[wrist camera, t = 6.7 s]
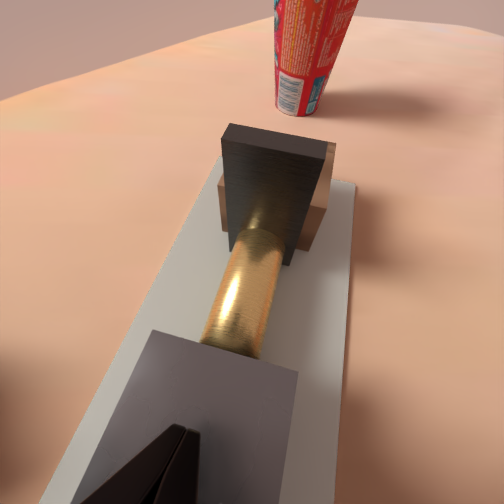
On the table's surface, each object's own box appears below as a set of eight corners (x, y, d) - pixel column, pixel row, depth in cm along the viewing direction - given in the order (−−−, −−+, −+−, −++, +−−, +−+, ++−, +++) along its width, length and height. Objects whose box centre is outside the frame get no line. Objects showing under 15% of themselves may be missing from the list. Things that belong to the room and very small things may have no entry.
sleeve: (225, 700, 9) (211, 944, 5) (64, 629, 10) (-67, 792, 6) (282, 382, 14) (298, 371, 10) (176, 350, 15) (152, 329, 11)
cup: (323, 86, 33) (360, -58, 23) (338, 125, 28) (393, -34, 18) (251, 85, 32) (256, -63, 22) (255, 124, 28) (264, -39, 18)
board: (307, 849, 8) (309, 863, 8) (-47, 674, 9) (-55, 682, 9) (354, 186, 23) (355, 183, 23) (219, 158, 25) (219, 155, 24)
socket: (308, 251, 19) (326, 208, 15) (222, 231, 20) (217, 184, 16) (319, 191, 22) (336, 143, 18) (244, 175, 23) (245, 126, 19)
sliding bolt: (250, 445, 12) (266, 503, 5) (167, 418, 13) (60, 431, 5) (303, 199, 21) (338, 82, 14) (252, 188, 22) (259, 69, 14)
